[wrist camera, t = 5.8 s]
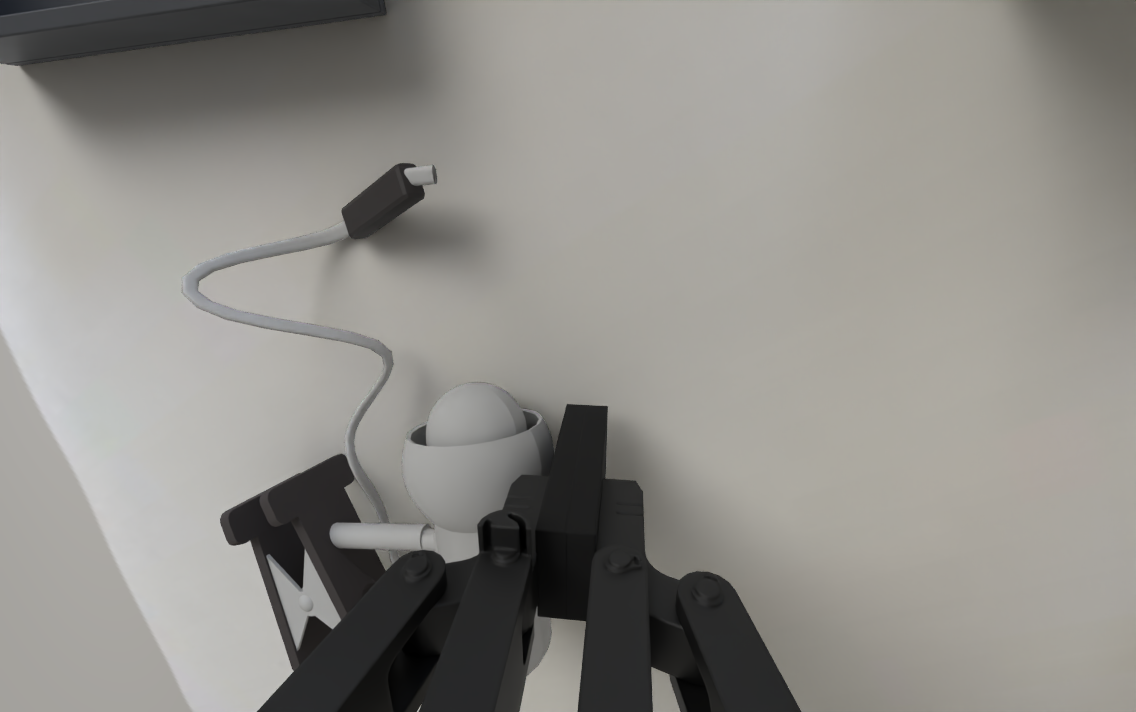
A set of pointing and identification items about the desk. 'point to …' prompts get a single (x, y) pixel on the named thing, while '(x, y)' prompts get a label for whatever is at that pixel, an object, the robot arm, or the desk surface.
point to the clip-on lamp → (317, 496)
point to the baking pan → (151, 23)
